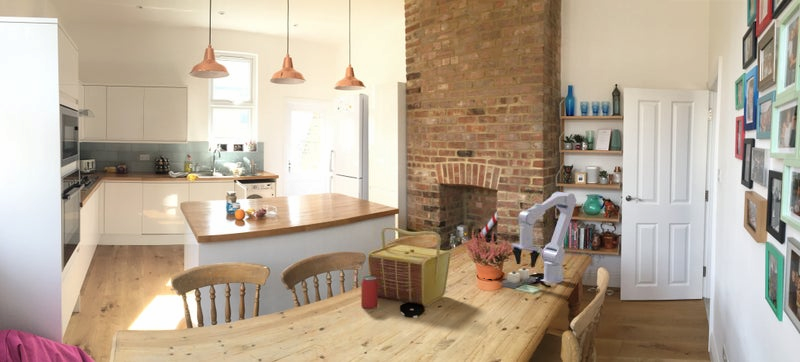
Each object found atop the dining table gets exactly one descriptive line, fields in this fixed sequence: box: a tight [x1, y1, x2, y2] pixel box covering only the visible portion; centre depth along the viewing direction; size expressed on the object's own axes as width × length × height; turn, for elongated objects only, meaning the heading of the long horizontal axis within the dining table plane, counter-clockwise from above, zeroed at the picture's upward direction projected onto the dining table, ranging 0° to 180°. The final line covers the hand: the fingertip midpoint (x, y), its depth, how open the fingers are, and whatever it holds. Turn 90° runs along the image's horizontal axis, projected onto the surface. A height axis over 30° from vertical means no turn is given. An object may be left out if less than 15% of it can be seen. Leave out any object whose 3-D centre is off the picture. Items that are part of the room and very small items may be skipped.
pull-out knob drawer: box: [517, 267, 531, 280], centre depth 251 cm, size 4×4×7 cm
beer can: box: [360, 275, 378, 310], centre depth 214 cm, size 7×7×12 cm
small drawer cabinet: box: [501, 275, 537, 290], centre depth 248 cm, size 18×8×3 cm, turn 137°
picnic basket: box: [367, 226, 451, 307], centre depth 226 cm, size 29×26×30 cm
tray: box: [515, 284, 543, 295], centre depth 239 cm, size 8×8×1 cm
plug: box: [507, 270, 520, 284], centre depth 245 cm, size 4×4×7 cm
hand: (525, 265), depth 245 cm, fingers open, 7 cm apart
